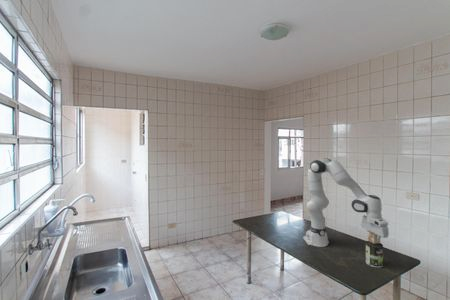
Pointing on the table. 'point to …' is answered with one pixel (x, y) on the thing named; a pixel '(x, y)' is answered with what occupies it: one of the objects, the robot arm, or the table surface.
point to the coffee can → (374, 254)
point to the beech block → (372, 238)
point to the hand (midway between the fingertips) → (374, 238)
